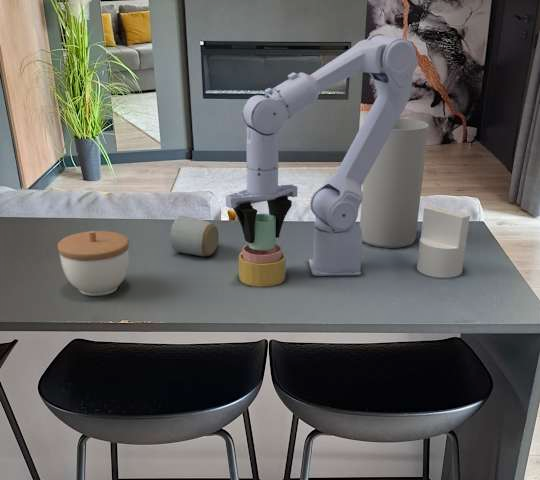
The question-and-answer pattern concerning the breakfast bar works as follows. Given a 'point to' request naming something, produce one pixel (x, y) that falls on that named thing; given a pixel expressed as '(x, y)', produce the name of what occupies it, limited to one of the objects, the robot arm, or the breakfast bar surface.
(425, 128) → the cylinder vase
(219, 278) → the breakfast bar surface
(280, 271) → the stack bottom
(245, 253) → the stack top
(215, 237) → the ceramic mug
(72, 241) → the lidded bowl
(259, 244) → the mint cup
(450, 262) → the base with upright slab
